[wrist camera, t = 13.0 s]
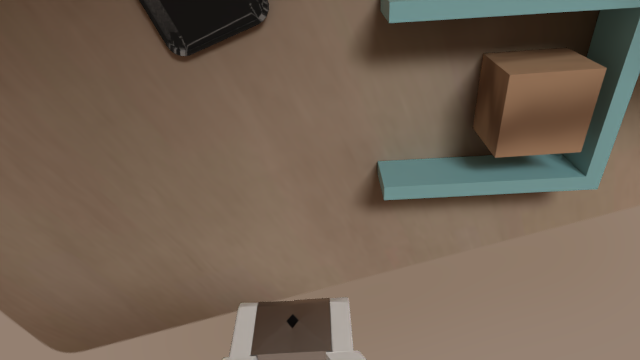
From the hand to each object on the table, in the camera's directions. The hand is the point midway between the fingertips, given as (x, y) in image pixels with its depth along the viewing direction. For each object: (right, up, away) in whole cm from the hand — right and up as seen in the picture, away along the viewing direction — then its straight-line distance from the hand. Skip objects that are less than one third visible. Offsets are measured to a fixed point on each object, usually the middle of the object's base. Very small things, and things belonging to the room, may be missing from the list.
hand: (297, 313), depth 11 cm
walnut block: (+16, +11, +20) cm, 28 cm away
